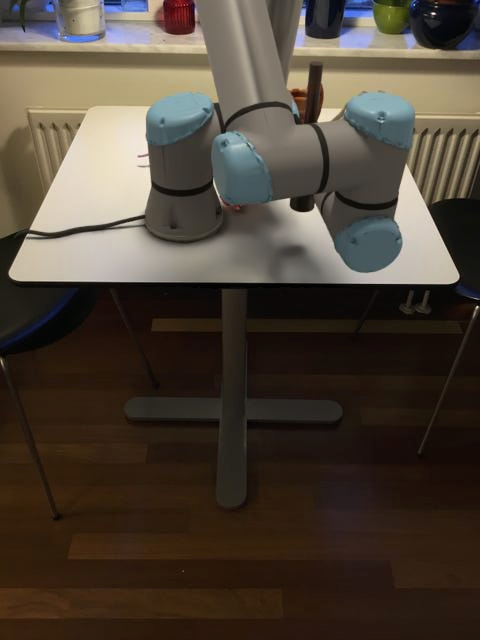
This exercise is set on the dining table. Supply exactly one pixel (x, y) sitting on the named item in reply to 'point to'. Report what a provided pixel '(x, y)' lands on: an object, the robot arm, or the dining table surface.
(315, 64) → the dark brown rod
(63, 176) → the dining table surface
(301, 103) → the mug
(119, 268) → the dining table surface
